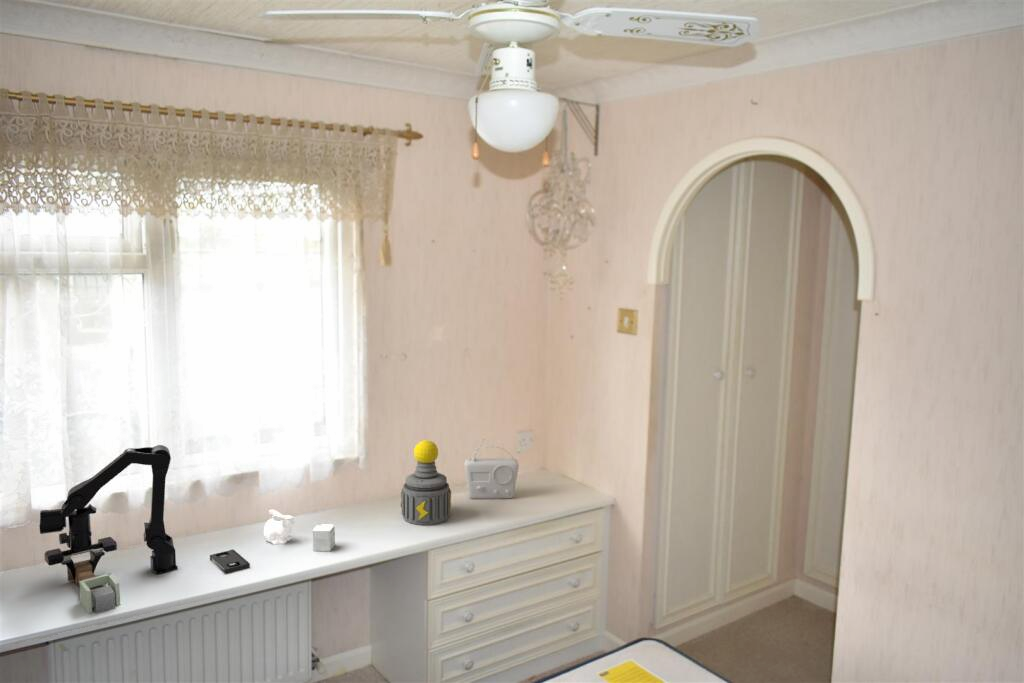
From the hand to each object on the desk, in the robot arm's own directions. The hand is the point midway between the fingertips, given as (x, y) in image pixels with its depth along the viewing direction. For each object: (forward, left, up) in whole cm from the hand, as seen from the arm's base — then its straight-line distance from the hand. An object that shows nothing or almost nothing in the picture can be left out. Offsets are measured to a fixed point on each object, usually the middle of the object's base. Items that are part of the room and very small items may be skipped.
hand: (83, 577), depth 241 cm
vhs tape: (-39, +15, -2) cm, 42 cm away
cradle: (0, +17, -1) cm, 17 cm away
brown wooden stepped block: (0, +6, -1) cm, 7 cm away
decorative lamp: (-113, +21, -2) cm, 115 cm away
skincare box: (-69, +23, -2) cm, 73 cm away
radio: (-147, +19, -2) cm, 148 cm away
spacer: (0, +19, +1) cm, 19 cm away
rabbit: (-60, +8, -2) cm, 60 cm away
